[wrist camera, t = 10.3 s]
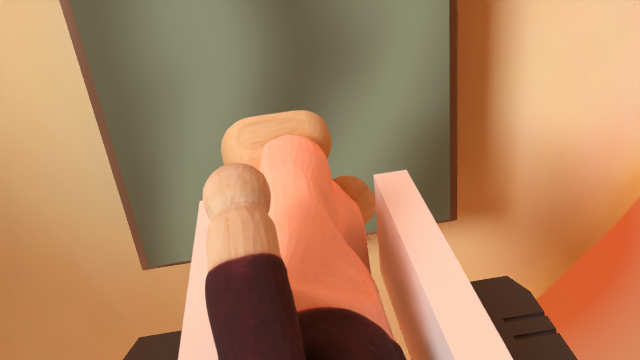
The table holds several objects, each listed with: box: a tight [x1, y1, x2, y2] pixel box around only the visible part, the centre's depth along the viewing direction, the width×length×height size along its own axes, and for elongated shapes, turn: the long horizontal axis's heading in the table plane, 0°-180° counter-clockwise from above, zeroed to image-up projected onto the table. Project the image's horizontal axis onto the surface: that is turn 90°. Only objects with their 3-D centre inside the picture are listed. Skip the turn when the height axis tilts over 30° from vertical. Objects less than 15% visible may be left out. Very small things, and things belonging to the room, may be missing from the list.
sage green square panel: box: [59, 0, 457, 270], centre depth 24 cm, size 14×14×4 cm
